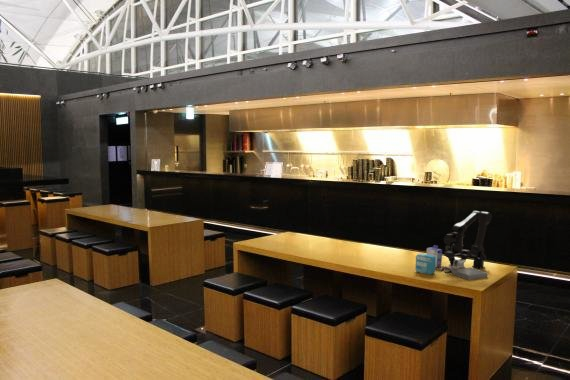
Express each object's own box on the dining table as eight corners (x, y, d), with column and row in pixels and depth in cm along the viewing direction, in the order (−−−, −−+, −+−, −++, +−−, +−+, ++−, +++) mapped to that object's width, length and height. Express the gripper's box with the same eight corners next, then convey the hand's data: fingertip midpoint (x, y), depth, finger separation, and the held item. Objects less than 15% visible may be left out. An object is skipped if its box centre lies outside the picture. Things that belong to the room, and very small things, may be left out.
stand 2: (469, 271, 326) (470, 267, 326) (487, 277, 313) (487, 272, 312) (451, 274, 320) (452, 269, 320) (468, 280, 306) (469, 275, 306)
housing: (455, 265, 334) (455, 257, 334) (465, 268, 326) (465, 260, 326) (448, 266, 332) (449, 257, 331) (458, 269, 324) (458, 260, 323)
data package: (415, 271, 325) (415, 254, 324) (417, 270, 329) (418, 253, 327) (432, 274, 318) (433, 257, 317) (435, 273, 321) (435, 255, 320)
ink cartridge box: (442, 266, 339) (442, 246, 337) (436, 267, 336) (437, 247, 334) (430, 263, 347) (431, 243, 346) (425, 264, 344) (426, 244, 343)
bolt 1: (441, 269, 332) (441, 265, 332) (444, 269, 331) (445, 266, 330) (438, 270, 328) (438, 267, 328) (441, 271, 326) (441, 268, 326)
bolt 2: (450, 271, 326) (450, 268, 326) (453, 272, 324) (453, 269, 324) (444, 272, 324) (444, 268, 323) (446, 273, 322) (446, 269, 321)
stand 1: (456, 267, 337) (457, 264, 336) (468, 271, 327) (469, 268, 326) (444, 269, 332) (444, 266, 332) (456, 273, 322) (456, 270, 322)
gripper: (459, 239, 339) (458, 261, 340) (439, 242, 331) (438, 264, 333) (471, 243, 328) (470, 265, 330) (450, 245, 321) (449, 268, 322)
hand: (456, 265), depth 329 cm, fingers open, 9 cm apart
